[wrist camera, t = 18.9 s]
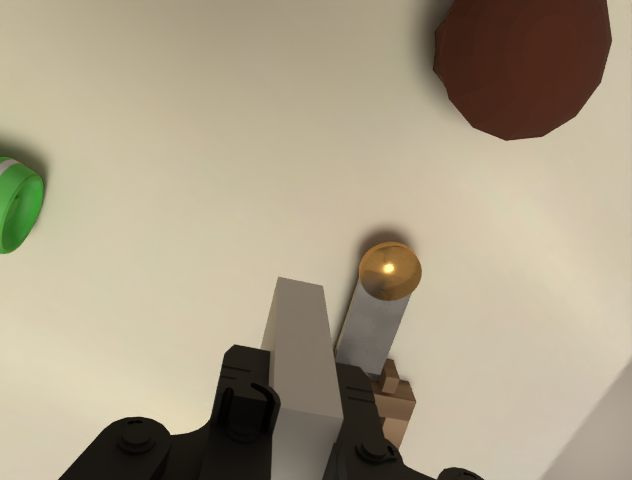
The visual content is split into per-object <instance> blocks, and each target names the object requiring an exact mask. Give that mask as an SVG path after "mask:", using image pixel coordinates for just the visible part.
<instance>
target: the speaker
mask: <svg viewBox="0 0 632 480" xmlns="http://www.w3.org/2000/svg"><path fill="white" fill-rule="evenodd" d="M43 192H44V186H43V181H42V179H41V177H40V176H39V175H38V174H37V173H35V172H34V171H32V170H31V169H29V168H28V167H26V166H25V165H23V164H21V163H19V162H18V161H16V160H14V159H12V158H9V157H0V254H7V253H10V252H13V251H14V250H16V249H17V248H18V247H19V246H20V245H21V244H22V243H23V241H24V240H25V239H26V237H27V236H28V234H29V233H30V231H31V229H32V227H33V225H34V223H35V221H36V219H37V217H38V214H39V211H40V208H41V205H42V200H43Z"/></svg>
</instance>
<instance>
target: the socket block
mask: <svg viewBox="0 0 632 480" xmlns="http://www.w3.org/2000/svg"><path fill="white" fill-rule="evenodd" d="M370 382H371V386H372V390H373V394H374V398H375V401H376V402H375V404H376V405H377V409H378V413H379V417H380V421H381V425H382V429H383V433H384V437H385V438H386V439H388V440H389V441H390V442H391V443H392V444H393V445H394V446H395V447H396V448H397V449H398V450H399V447H400V445H401V442H402V439H403V436H404V434H405V431H406V428H407V426H408V423H409V420H410V418H411V415H412V412H413V409H414V407H415V404H416V400H415V397H414V394H413V392H412V389H411V386H410V384H409V382H406V381H400V378H399V376H398V373H397V370H396V367H395V364H394V361H393V360H389V359H386V361H385V364H384V366H383V369H382V371H381V374H380V375H379V379H378V381H373V380H370Z"/></svg>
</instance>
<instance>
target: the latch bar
mask: <svg viewBox="0 0 632 480" xmlns="http://www.w3.org/2000/svg"><path fill="white" fill-rule="evenodd" d="M421 274H422V270H421V265H420V262H419V260H418V258H417V256H416V254H415V252H414V251H413V250H412V249H411V248H410V247H408V246H406V245H405V244H402V243H399V242H384V243H380V244H378V245H375V246H374V247H372V248H371V249H369V250H368V251H367V252H366V253H365V255H364V256H363V258H362V259H361V262H360V265H359V275H360V276H359V279H358V282H357V285H356V288H355V291H354V294H353V297H352V300H351V303H350V306H349V309H348V312H347V315H346V319H345V322H344V325H343V328H342V331H341V334H340V337H339V340H338V343H337V346H336V349H335V352H334V360H335V362H338V363H343V364H348V365H354V366H359V367H361V369H362V370H363V371H364V372H365V374H366V375H367V376H368V377H369V379H370V380H373V381H378V379H379V375H380V374H381V371H382V369H383V366H384V364H385V361H386V358H387V356H388V353H389V351H390V348H391V345H392V343H393V340H394V338H395V335H396V332H397V330H398V327H399V325H400V322H401V319H402V317H403V314H404V311H405V309H406V306H407V304H408V301H409V298H410V296H411V293H412V292H413V291H414V290H415V288H416V287H417V286H418V284H419V282H420V279H421Z"/></svg>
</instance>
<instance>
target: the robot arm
mask: <svg viewBox="0 0 632 480" xmlns="http://www.w3.org/2000/svg"><path fill="white" fill-rule="evenodd" d="M375 402H376V401H375V398H374V394H373V390H372V386H371V382H370V379H369V377H368V376H367V375H366V374H365V372H364V371H363V370H362V369H361V367H359V366H354V365H348V364H343V363H338V362H335V360H334V354H333V347H332V341H331V334H330V328H329V322H328V315H327V309H326V302H325V296H324V290H323V286H321V285H316V284H311V283H306V282H302V281H297V280H292V279H287V278H282V277H278V279H277V283H276V287H275V291H274V295H273V300H272V304H271V308H270V312H269V316H268V320H267V324H266V328H265V332H264V336H263V340H262V344H261V348H260V349H256V348H251V347H246V346H240V345H235V344H234V345H233V346H232V347H231V348H230V349H229V350H228V351H227V352H226V353H225V354H224V358H223V363H222V367H221V372H220V377H219V381H218V386H217V390H216V395H215V399H214V404H213V409H212V413H211V417H210V420H209V421H208V422H207V423H206V424H205V425H204V426H203V427H201V428H200V429H198V430H195V431H193V432H190V433H185V434H178V435H170V432H169V431H168V430H167V429H166V428H165V427H164V425H163V424H161V423H159V422H157V421H155V420H153V419H149V418H144V417H127V418H123V419H120V420H117V421H115V422H113V423H111V424H110V425H109V426H107V427H106V428H105V429H104V430H103V431H102V432H101V433H100V434H99V435H98V436H97V437H96V438H95V440H94V441H93V442H92V443H91V444H90V445H89V446H88V447H87V448H86V450H85V451H84V452H83V453H82V454H81V455H80V456H79V457H78V458H77V459H76V461H75V462H74V463H73V464H72V465H71V466H70V467H69V468H68V469H67V470H66V472H65V473H64V474H63V475H62V476H61V477H60V478H59V479H58V480H436V479H434V478H431V477H429V476H427V475H424V474H422V473H419V472H417V471H415V470H413V469H411V468H409V467H407V466H406V465H404V463H403V460H402V456H401V455H400V453H399V451H398V449H397V448H396V447H395V446H394V445H393V444H392V443H391V442H390V441H389V440H388V439H386V438H385V437H384V433H383V429H382V425H381V421H380V417H379V413H378V409H377V405H376V404H375ZM437 480H484V479H483V478H481V477H480V476H478V475H477V474H475V473H473V472H471V471H468V470H466V469H463V468H456V467H451V468H447V469H444V470H443V471H442V472H441V473H440V474H439V476H438V478H437Z"/></svg>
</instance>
